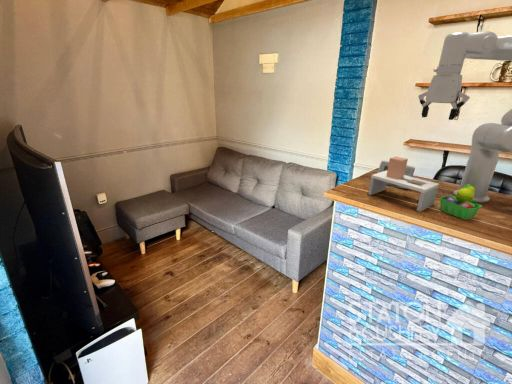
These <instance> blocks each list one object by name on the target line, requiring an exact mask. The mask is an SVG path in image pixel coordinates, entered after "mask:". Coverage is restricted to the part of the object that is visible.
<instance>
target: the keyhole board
mask: <svg viewBox="0 0 512 384" xmlns="http://www.w3.org/2000/svg"><path fill="white" fill-rule="evenodd" d="M386 175H387V170H386V171H383V172H380V173H377V172H376V173H374V174H371V177H370V182H369V188H368V195H370V196H372V195H375V194H377V193H380V192H382V191H383V192H384V191H385V190H386V188H387V185H386V184H387V182H388V183H392V184H395V185H399V186H402V187H405V188H408V189H410V190H414V191H416V192H420V196H419V199H418V203H417V207H416V211H417V212H419V213H420V212H422V211H424V210H426V209H427V208H430V207H432V206H433V205H435V204H434V203H435V201H436V197H437V193H438V190H439V187H440V186H439V185H440V183H437V182H435V181H434V182H433V181H430V180H426V179H422V178H418V177H413V176H412V177H410V176H406V175H404V177H403V178H401V179H394V178H390V177H387V176H386ZM408 182H409V183H408ZM414 183H415V184H414Z"/></svg>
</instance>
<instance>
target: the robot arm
mask: <svg viewBox="0 0 512 384" xmlns="http://www.w3.org/2000/svg"><path fill="white" fill-rule="evenodd" d="M439 58H440V59H439V62H438V66H437V67H434V68H433V72H434V73H436V74H435V75H434V74H433V77H432V79H431V80H430V83H429V85H428V89H427V91H426V92H422V93H420V94H419V95H418V100H419V103H420V105H421V107H422V111H421V118H427V117H428V114H429V111H430V107H429V106H431V104H432V103H434V104H450V105H451V106H452V108H451V109H450V112H449V115H448V116H449V117H448V121H452V120H455V118H456V117H457V114H458V109H460V108H461V107H463V106H464V105H465V104H466V103H467V102H468V101H469V100H470V99H471V97H470V96H469V95H467V94H465V93H464V92H462V91H461V90H462V84H463V83H462V82H463V74H461V73H462V69H463V66H464V62H465V59H470V60H487V61H488V60H489V61H502V62H508V61H509V62H510V61H511V62H512V34H511V35H505V36H497V34H496V33H495V32H493V31H490V30H484V31H483V30H482V31H476V32H466V31H465V32H464V31H457V32H452V33H449V34H446V36H445V38H444V42H443V45H442V49H441V53H440V57H439ZM424 98H425V99H424ZM460 98H462V100H461V101H459V100H460ZM458 101H459V102H458ZM500 152H502V153H512V108H511V109H509V110H508V111H507V112H505V113H504V114H503V116H502V117H501V120H500V123H495V122H488V123H482V124H481V125H479V126H478V127H476V129H475V130H474V131H473V134H472V136H471V149H470V152H469V156H468V160H467V162H466V166H465V168H464V172H463V175H462V179H461V183H460V184H459V188H458V189H456V190H453V196H455V197H457V191H458V190H459V189H462V188H463V187H464V186H465V185H468V184H469V185H471V186H474V189H475V193H474V198H473V200H472V202H474V203H478V204H479V203H481V204H482V203H488V202H490V197H489V196H488V195H487V194H488V190H489V189H490V188H489V187H490V185H491V182H492V179H493V175H494V174H495V170H496V168H497V165H498V162H499V157H500V154H499V153H500Z"/></svg>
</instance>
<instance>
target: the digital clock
mask: <svg viewBox="0 0 512 384" xmlns="http://www.w3.org/2000/svg"><path fill="white" fill-rule="evenodd" d="M388 165H389V160H381V162H380V164H379V167H378V169H377V172H376V174H377V173H380V172H383V171H386V170H388ZM415 171H416V168H415V167H414V166H412V165H406V170H405V174H404V175H406V176H410V177H413V176H414V172H415ZM408 183H409V182H408ZM386 186H390V187H394V188H397V189H401V190H402V189H403V190H408V189H409V188H405V187H402V186H393V185H389V184H388V182H387V184H386Z"/></svg>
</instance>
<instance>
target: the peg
mask: <svg viewBox="0 0 512 384" xmlns="http://www.w3.org/2000/svg"><path fill="white" fill-rule="evenodd" d="M408 160H409V158H404V157H401V156H393V157H390V158H389V160H388V162H389V165H388V170H387V175H386V176H387V177H390V178H394V179H401V178H403V177H404V174H405V170H406V165H407V164H408ZM388 184H389V185H393V186H399V185H395V184H392V183H388ZM389 185H388V186H389ZM393 186H392V187H393Z"/></svg>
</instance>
